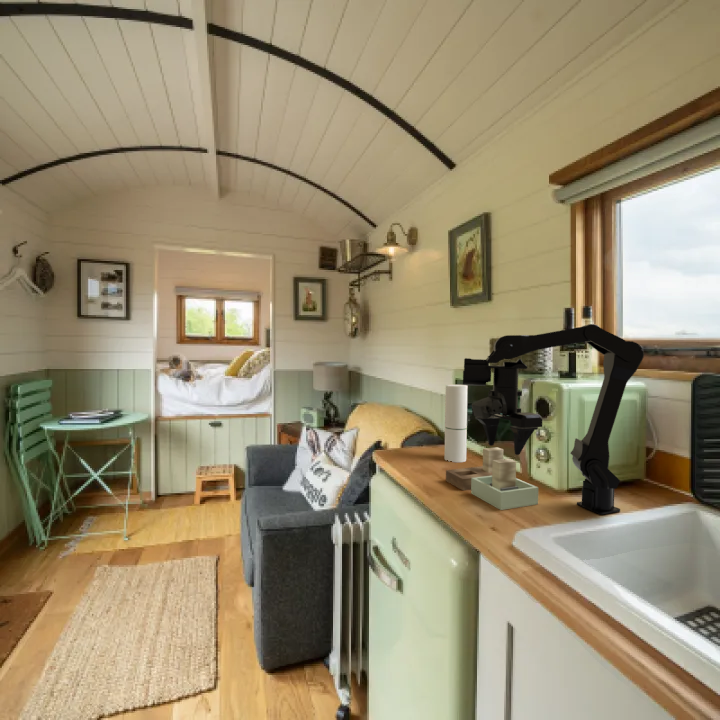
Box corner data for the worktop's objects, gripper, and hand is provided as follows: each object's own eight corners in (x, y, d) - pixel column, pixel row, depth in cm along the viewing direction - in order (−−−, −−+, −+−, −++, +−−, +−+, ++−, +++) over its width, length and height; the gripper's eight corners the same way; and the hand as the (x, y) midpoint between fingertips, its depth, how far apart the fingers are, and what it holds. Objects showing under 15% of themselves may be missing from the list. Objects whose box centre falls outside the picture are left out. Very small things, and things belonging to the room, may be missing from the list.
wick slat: (496, 478, 112) (497, 447, 112) (502, 481, 109) (503, 449, 109) (482, 480, 110) (483, 448, 110) (488, 483, 108) (488, 450, 107)
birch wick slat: (508, 494, 98) (509, 458, 98) (515, 497, 96) (516, 461, 96) (491, 496, 97) (492, 460, 96) (498, 500, 94) (499, 463, 94)
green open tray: (505, 488, 103) (506, 473, 103) (538, 504, 93) (538, 487, 93) (471, 493, 99) (471, 477, 99) (500, 510, 89) (501, 492, 89)
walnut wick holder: (494, 475, 115) (494, 464, 115) (513, 483, 107) (513, 472, 107) (445, 480, 109) (445, 470, 109) (462, 490, 101) (462, 479, 101)
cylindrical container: (464, 456, 134) (465, 384, 134) (467, 462, 127) (469, 386, 127) (443, 456, 135) (444, 384, 135) (445, 461, 128) (447, 386, 127)
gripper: (455, 383, 102) (454, 443, 102) (505, 391, 84) (503, 463, 84) (490, 383, 105) (489, 440, 106) (545, 390, 88) (543, 459, 88)
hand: (503, 449), depth 96 cm, fingers open, 9 cm apart
